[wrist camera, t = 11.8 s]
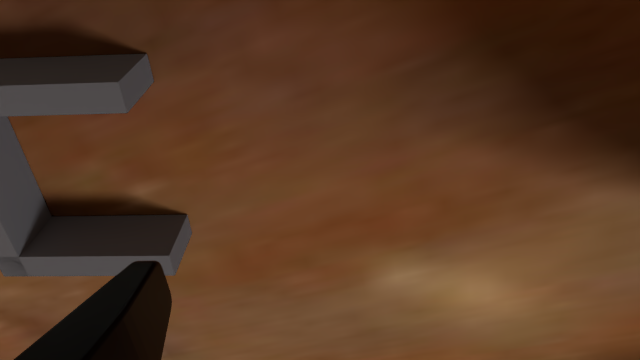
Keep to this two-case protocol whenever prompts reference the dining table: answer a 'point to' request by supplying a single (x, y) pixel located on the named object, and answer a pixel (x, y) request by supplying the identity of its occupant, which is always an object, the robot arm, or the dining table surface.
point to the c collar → (25, 196)
